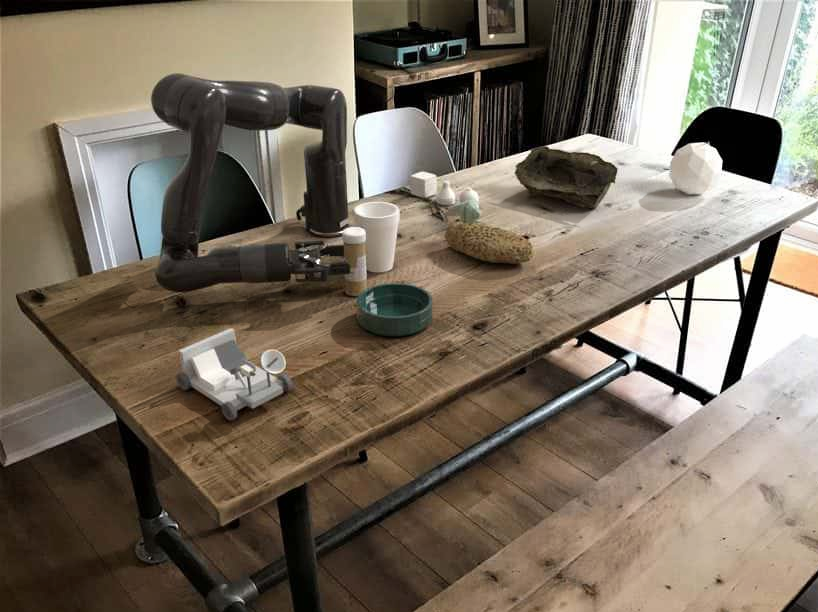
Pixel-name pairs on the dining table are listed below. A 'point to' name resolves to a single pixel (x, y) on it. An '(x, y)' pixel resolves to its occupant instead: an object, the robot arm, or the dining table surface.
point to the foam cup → (378, 233)
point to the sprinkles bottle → (355, 260)
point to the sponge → (489, 243)
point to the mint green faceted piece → (468, 211)
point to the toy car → (231, 373)
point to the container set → (427, 186)
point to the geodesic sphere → (695, 168)
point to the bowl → (394, 309)
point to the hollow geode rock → (566, 175)
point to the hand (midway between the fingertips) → (348, 258)
